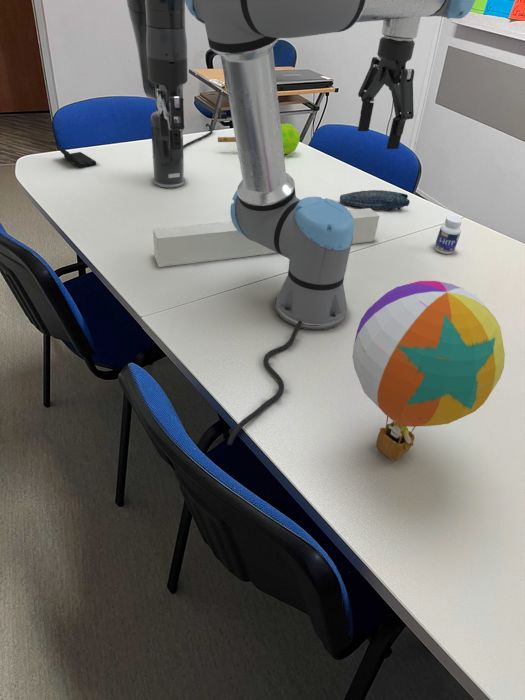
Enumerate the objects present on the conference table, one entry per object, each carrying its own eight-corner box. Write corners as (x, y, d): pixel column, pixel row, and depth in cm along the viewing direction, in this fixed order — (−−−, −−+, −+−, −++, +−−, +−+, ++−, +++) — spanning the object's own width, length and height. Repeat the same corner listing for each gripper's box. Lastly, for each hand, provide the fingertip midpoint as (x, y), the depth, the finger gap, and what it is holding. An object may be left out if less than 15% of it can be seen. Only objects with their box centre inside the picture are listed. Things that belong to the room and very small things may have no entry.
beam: (364, 233, 145) (370, 207, 140) (373, 241, 141) (379, 215, 137) (154, 257, 126) (152, 228, 121) (158, 267, 122) (157, 238, 118)
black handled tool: (101, 157, 170) (79, 135, 162) (89, 175, 169) (67, 154, 161) (80, 153, 176) (58, 132, 168) (69, 170, 175) (46, 149, 167)
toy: (305, 441, 83) (335, 280, 64) (382, 391, 94) (427, 241, 75) (403, 527, 72) (474, 363, 53) (477, 460, 83) (558, 303, 64)
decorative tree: (215, 117, 188) (295, 117, 193) (215, 147, 195) (292, 146, 200) (221, 131, 174) (307, 131, 180) (221, 163, 181) (304, 161, 186)
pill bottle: (433, 251, 139) (442, 220, 133) (435, 243, 143) (444, 213, 137) (453, 256, 138) (464, 225, 132) (454, 247, 142) (465, 217, 136)
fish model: (408, 214, 157) (412, 198, 153) (339, 207, 158) (341, 191, 154) (406, 206, 162) (410, 190, 159) (339, 199, 163) (341, 183, 160)
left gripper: (139, 46, 102) (145, 132, 112) (155, 62, 91) (159, 155, 102) (177, 47, 104) (179, 131, 114) (196, 62, 94) (197, 153, 104)
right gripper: (354, 28, 120) (339, 124, 133) (416, 48, 102) (391, 157, 115) (382, 28, 122) (364, 123, 135) (447, 49, 104) (419, 155, 118)
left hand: (170, 142), depth 108 cm, fingers open, 8 cm apart
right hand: (377, 139), depth 125 cm, fingers open, 13 cm apart
